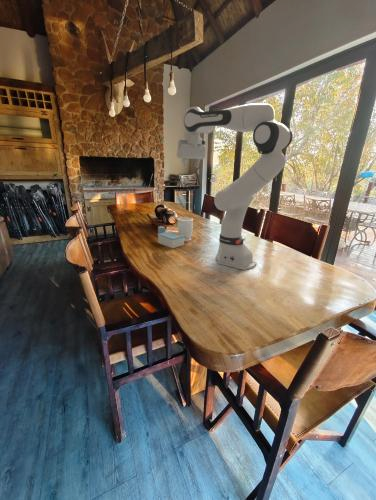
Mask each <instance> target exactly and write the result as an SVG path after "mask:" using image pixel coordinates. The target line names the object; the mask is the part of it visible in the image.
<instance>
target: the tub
mask: <svg viewBox="0 0 376 500" xmlns="http://www.w3.org/2000/svg"><path fill="white" fill-rule="evenodd" d="M157 241H158V244H160V245H163V246H165V247H168V248H171V249H175V248H178V247H183V246H184V245H185V241H184V237H183V238H179V239H176V240H171V239H168V238H165V237H162V236H159V235H157Z"/></svg>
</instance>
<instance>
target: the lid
mask: <svg viewBox="0 0 376 500" xmlns="http://www.w3.org/2000/svg"><path fill="white" fill-rule="evenodd" d="M158 235H159V236H162V237H165V238H168V239H171V240H176V239H179V238H183V237H185V235H181V234H178V232H174V231H173V230H172V231H170V230H167V231H166V226H161V225H160V226H158V227H157V236H158Z"/></svg>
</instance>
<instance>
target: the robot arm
mask: <svg viewBox="0 0 376 500" xmlns="http://www.w3.org/2000/svg"><path fill="white" fill-rule="evenodd" d="M275 113H276V112H275V109H274V107H273V105H271V104H270V103H263V102H262V103H261V102H256V103H254V102H253V103H247V104H242V105H238V106H234V107H229V108H224V109H218V110H217V109H216V110H209V111H208V110H206V111H203V110H202V109H201V108H200V107H199V106H190V107H188V108H186V110H185V114H184V116H183V125H184V134H183V136H184V137H183V139H180V140H179V141H178V142H177V143H178V145H177V151H176V157H177V158H178V159H182V160H181V161H182V164H183V168H188V163H187V159H191V160H192V159H193V160H195V161H196V162H195V163H194V167H195V168H199V167H200V166H199V164H200V163H201V160H205V158H206V153H207V152H206V145H207V141H206V140H205V139H203V138H202V137H201V134H204V135H208V134H212V133H213V132H214V130H215V128H216V127H220V128H224V129H227V130H231V131H234V132H241V133H251V132H252V141H253V143H254V145H255V147H256V149H257V152H258V154H260V157H259V158H258V159H257V160H256V161H255V162H254V163H253V164H252V165H251V166H250V167H249V168H248V169H247V170H246V171H245V172H244V173H243V174H242V175H241V176H240V177H238V178H237V179H235V180H234V181H232V182H231V183H230V184H228V185H227V186H226V187H225V188H222V189H221V190H220V191H218V192H217V193H216V194H214V195H215V196H214V199H213V200H214V202H213V203H214V205H215V207H216V209H217V210H219V211H223V212H226V213H225V215H224V216H223V218H222V220H221V226H220V234H219V238H218V239H219V240H218V241H219V244H218V249H217V254H216V256H215V260H216V261H217V264H219V265H223V266H227V267H230V268H234V269H237V270H243V271H245V270H246V271H247V270H250V269H252V268H254V267H256V266H257V261H256V260H254V259H253V258H254V257H253V252H252V251H251V250H250V249H249V247H248V246H246V244H244V243H245V242H244V241H245V240H246V238H245V237H244V238H243V236H242V230H243V223H244V219H245V216H246V213H247V211H248V208H249V206H250V205H251V203H252V202H253V199H254V195H256V194H258V193H259V192H260V191H261V190H262V189H263V188H265V187H266V186H267V185H269V183H270V182H271V181H272V180H273V179H275V178H276V176H278V175H279V173H280V172H281V171H282V170H283V168H284V167H285V166H286V164H287V162H286V161H287V160H286V157H285V154H284V153H283V151H285V149H287V148H288V147H289V146H290V145H291V143H292V141H293V133H292V130H291V129H290V127H289V126H287V125H285V124H284V123H282V122H281V121H278V120H277V121H276V120H275Z"/></svg>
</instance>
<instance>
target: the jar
mask: <svg viewBox="0 0 376 500" xmlns="http://www.w3.org/2000/svg"><path fill="white" fill-rule="evenodd" d="M193 222H194V218H192V217H187V216H186V217H185V216H184V217H178V218H177V233H178V234H181V235H185V237H184V242H188V241H192V235H193V230H194V223H193Z"/></svg>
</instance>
